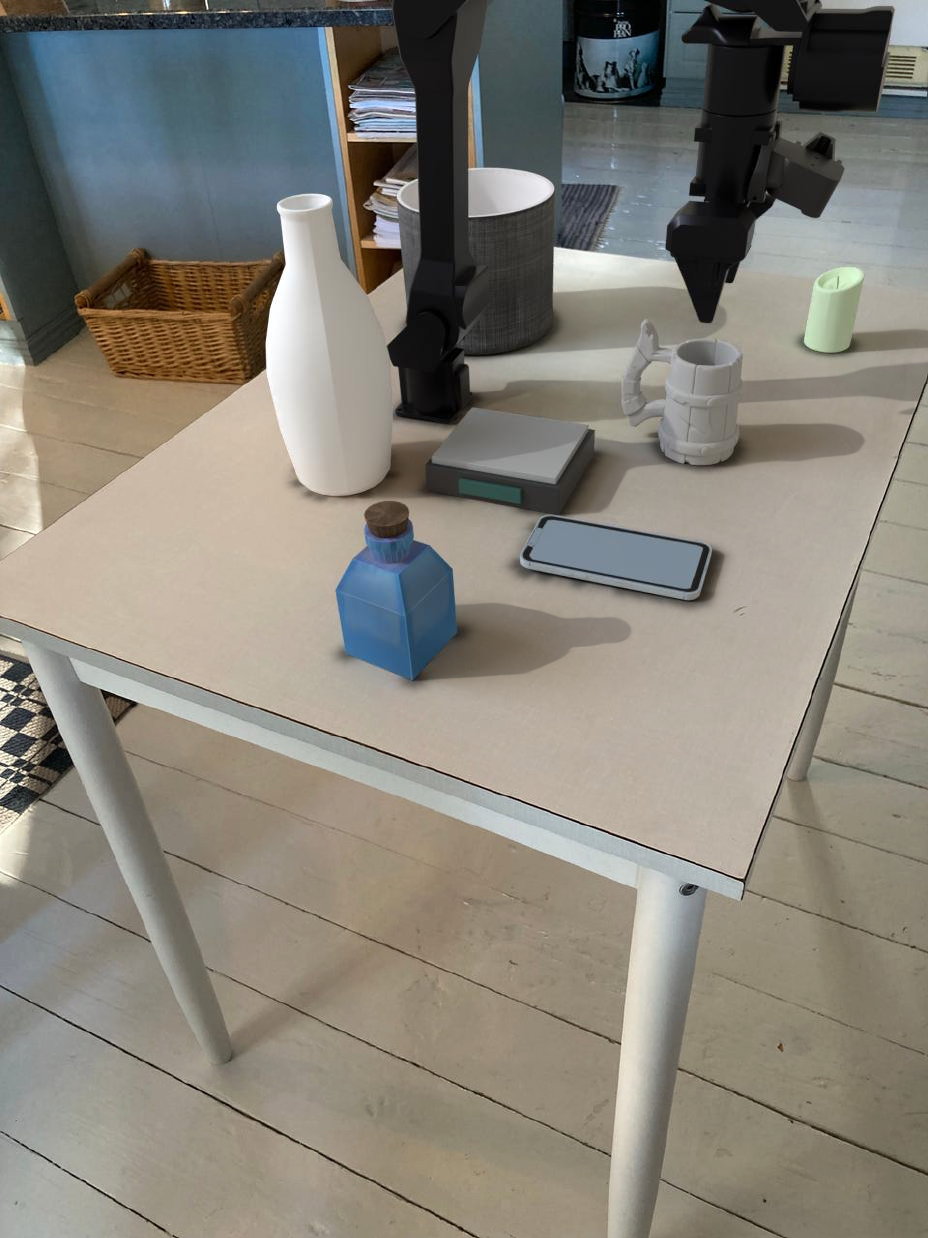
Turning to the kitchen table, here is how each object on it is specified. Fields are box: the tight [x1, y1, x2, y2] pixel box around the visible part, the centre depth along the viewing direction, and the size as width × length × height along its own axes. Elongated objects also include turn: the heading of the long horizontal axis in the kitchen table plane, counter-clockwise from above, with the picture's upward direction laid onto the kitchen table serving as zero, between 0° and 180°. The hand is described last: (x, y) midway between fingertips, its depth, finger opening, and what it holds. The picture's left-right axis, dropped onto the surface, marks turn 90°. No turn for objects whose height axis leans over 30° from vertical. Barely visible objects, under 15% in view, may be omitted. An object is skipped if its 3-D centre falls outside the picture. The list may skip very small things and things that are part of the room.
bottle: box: [265, 193, 394, 497], centre depth 88 cm, size 11×11×25 cm
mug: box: [620, 318, 744, 466], centre depth 94 cm, size 8×12×12 cm, turn 65°
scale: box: [424, 406, 596, 516], centre depth 94 cm, size 13×11×4 cm
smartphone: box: [519, 514, 713, 601], centre depth 83 cm, size 7×1×15 cm
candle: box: [803, 266, 865, 354], centre depth 110 cm, size 5×5×8 cm
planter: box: [395, 167, 556, 356], centre depth 117 cm, size 18×18×16 cm
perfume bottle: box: [334, 500, 458, 681], centre depth 73 cm, size 6×6×12 cm
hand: (717, 301), depth 88 cm, fingers open, 9 cm apart
